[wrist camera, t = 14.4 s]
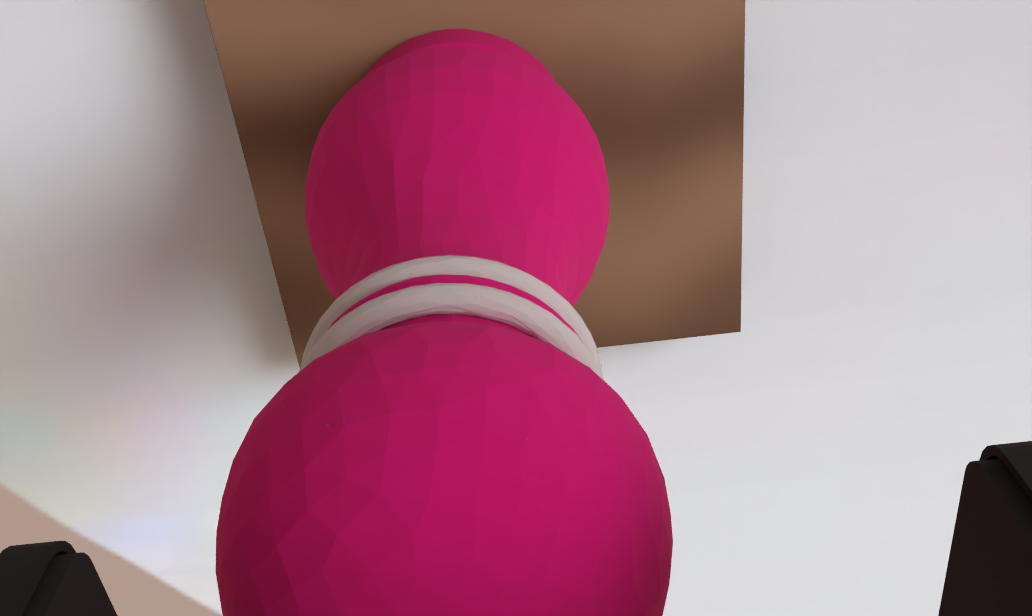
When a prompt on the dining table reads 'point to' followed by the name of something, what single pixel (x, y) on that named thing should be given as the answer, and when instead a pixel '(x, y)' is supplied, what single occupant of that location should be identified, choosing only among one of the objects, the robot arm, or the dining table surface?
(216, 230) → the dining table surface
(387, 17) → the walnut board
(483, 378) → the pepper mill
